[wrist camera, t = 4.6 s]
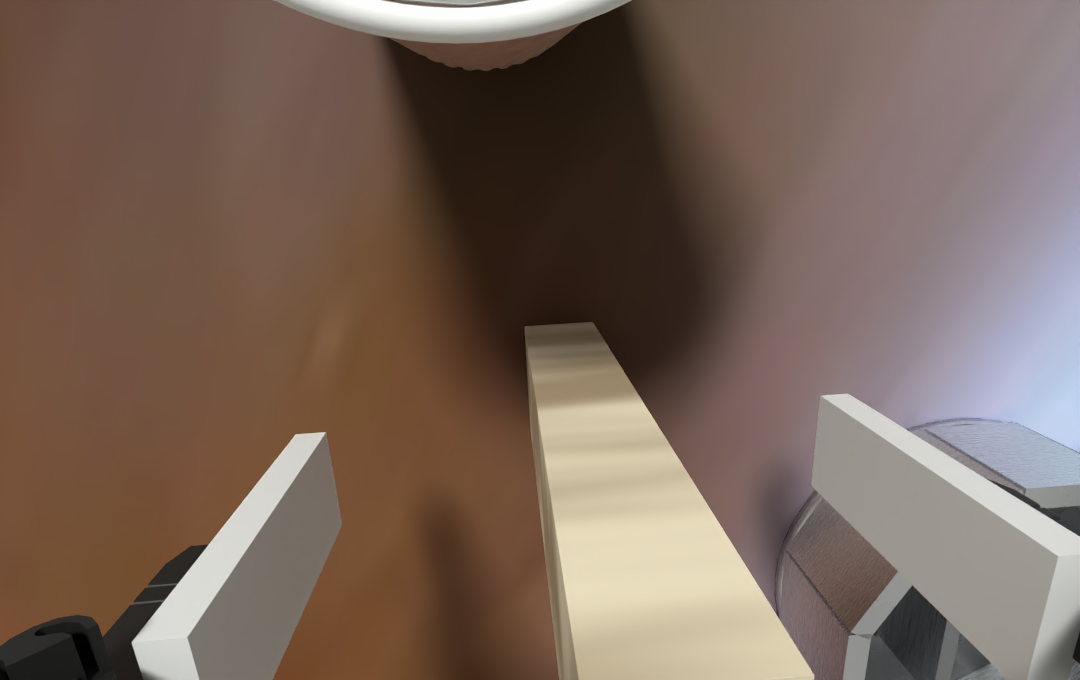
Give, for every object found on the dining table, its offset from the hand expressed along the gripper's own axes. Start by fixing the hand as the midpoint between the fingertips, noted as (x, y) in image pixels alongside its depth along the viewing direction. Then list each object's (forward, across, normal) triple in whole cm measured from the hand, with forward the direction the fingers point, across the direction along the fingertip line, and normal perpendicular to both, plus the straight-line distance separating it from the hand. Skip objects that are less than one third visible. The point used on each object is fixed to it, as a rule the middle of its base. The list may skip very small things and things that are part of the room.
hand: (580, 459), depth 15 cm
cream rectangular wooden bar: (+6, 0, 0) cm, 6 cm away
